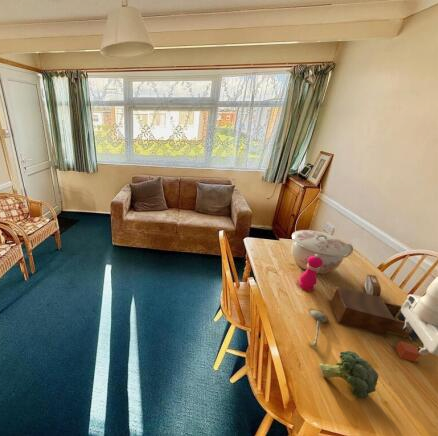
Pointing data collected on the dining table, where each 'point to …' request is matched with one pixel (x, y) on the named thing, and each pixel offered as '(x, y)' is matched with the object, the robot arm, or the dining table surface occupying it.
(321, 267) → the chamber pot
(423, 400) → the dining table surface
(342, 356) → the vegetable
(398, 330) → the drawer
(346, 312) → the cabinet
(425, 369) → the dining table surface
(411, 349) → the block
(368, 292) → the tin
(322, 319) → the soupspoon
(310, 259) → the pepper mill
